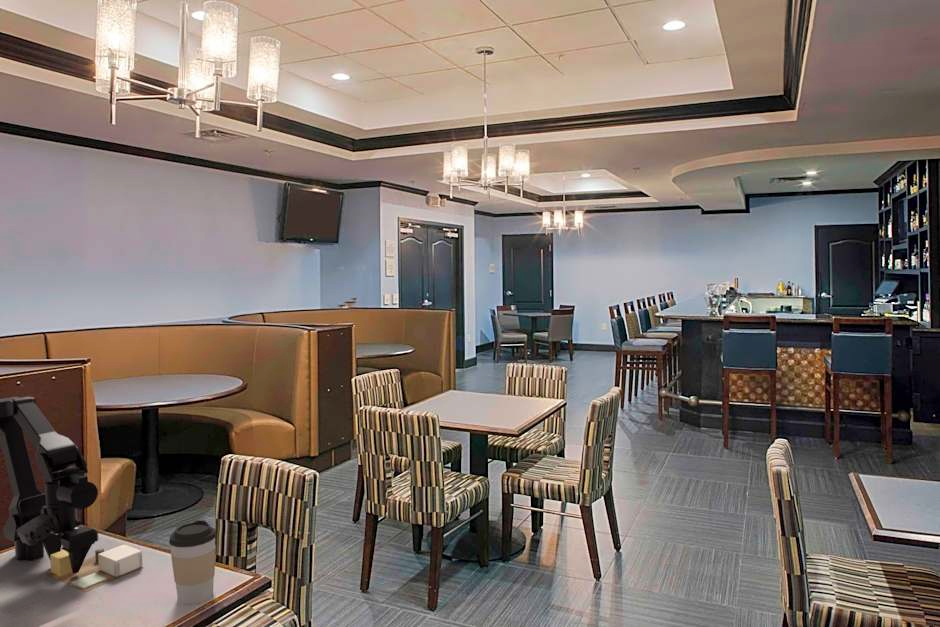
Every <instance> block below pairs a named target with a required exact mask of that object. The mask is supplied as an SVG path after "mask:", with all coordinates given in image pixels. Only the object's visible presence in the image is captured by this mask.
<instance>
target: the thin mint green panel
mask: <svg viewBox="0 0 940 627" xmlns="http://www.w3.org/2000/svg"><path fill="white" fill-rule="evenodd" d="M105 580H107V578H105V577H103V576H101V575H98V574H96V573H93V574H90V575H88V576H85V577H83V578H80V579H78V580H75V581H73V582H71V584H74V585H76V586H78V587H80V588H82V589H85V588H88V587H90V586H93V585H95V584H98V583H100V582H102V581H105Z"/></svg>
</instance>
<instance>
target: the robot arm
mask: <svg viewBox="0 0 940 627" xmlns="http://www.w3.org/2000/svg"><path fill="white" fill-rule="evenodd" d="M25 435H26V436H27V438H28V440H30V443H32V445H33V447H34V448H35V450H36V451H35V456H34V460H35V461H36V466H37V469H38V470H39V472H40V473H41V476H40V478H41V479H42V480H44V492H42V491H40V490H39V489H38V486H37V483H36V477H35V474H34V471H33V465H32V463H31V458H30V453H29V449H28V446H27V442H26V438H25ZM0 446H1V449H2V450H1V451H2V455H3V458H4V461H5V462H4V463H5V466H6V471H7V475H8V479H9V483H10V486H11V491H12V495H13V498H12V500H11V503H10V505H9V507H8V511H7V512H8V516H9V517H8V519H7V521H6V522H5V524H4V526H3V528H2V532H3V536H4V539H7V540H8V541H11V542H12V543H13V542H14V554H15V560H16V561H23V562H24V561H29V562H30V561H31V562H33V561H35V560H38V559H41V558H44V556H45V551H46V555H47V557H48V559H49V561H50V562H51V560H50V555H51V554H54V553H57V552H60V551H62V550H65V551H66V552H68V554H69V559H70V564H71V568H72V572H73V574H75V573H78V572H79V570H80V568H81V566H82V564H83V561H84V560H85V559H86V557H87V555H88V552H90V549H91V547H92V546H93V545H95V542H98V541H99V531H98V530H96V529H95V528H92V527H89V526H87V525H84V526H82V519H78V513H77V509H79V510H85V509H87V508H90V507H91V506H92V505H93V504H94V503H96V500H97V498H98V495H99V489H98V487H97V486H96V485H95V484H94V482H91V481H89V478H88V476H87V475H85V474H87V473H89V470H88V468H87V466H88V463H87V462H86V460H85V458H84V457H83V454H82V452H81V451H80V449H79V447H78V446H77V445H76V444H75V443H74V442H73V441H72V440H71V439H70V438H69V437H67V436H65V435H63V434H59V433H58V432H56V430H55V429H54V427H53V426H52V425H51V424H50V422H49V421H48V419H47V418H46V416H45V415H44V414H43V412H42V411H41V410H40V408H39V407H38V405H37V400H36V399H35V397H33V396H29V395H28V396H23V397H20V396H18V395H17V396H10V397H4V398H0ZM79 526H82V527H79ZM76 527H78V528H76Z"/></svg>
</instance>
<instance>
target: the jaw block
mask: <svg viewBox="0 0 940 627" xmlns="http://www.w3.org/2000/svg"><path fill="white" fill-rule="evenodd" d="M50 560H51V561H50ZM49 561H50V572H52V573H54V574H56V575H58V576H63V575H66V574H68V573H71V572H72V568H71V564H70V559H69V554H68V552H66V551H65V550H63V549H61V550H60V552H57V553H54V554H51V555H50V559H49Z"/></svg>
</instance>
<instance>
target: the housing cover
mask: <svg viewBox="0 0 940 627" xmlns="http://www.w3.org/2000/svg"><path fill="white" fill-rule="evenodd" d="M104 551H105V552H102V553H99V554H98V561H99V570H101V571H104V572H106V573H108V574H111V575H113V576H115V577H118V576H120V575H123V574H125V573H127V572H130V571H132V570H135V569H137V568H140V567H144V566H143V550H141V549H137V548H135V547H133V546H130V545H127V544H121V545H119V546H116V547H114V548H111V549H107V550H104Z"/></svg>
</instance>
